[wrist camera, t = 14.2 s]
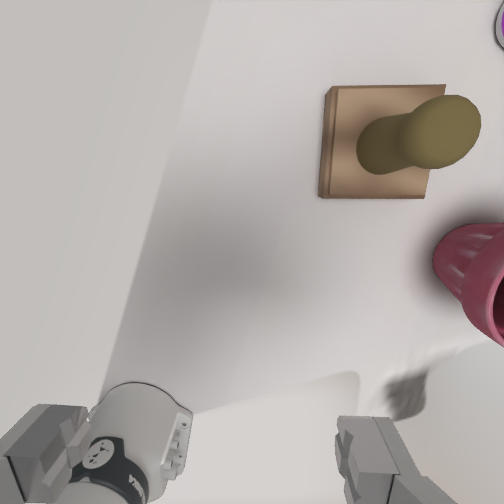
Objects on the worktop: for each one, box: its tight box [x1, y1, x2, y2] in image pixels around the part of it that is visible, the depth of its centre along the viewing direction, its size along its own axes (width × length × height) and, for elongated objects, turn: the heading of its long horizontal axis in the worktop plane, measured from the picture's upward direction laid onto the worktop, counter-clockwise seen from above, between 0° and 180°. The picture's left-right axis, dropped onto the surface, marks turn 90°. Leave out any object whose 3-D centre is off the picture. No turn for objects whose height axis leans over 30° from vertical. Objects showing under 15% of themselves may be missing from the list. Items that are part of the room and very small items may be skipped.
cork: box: [356, 95, 481, 175], centre depth 23 cm, size 6×6×11 cm
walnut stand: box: [318, 84, 446, 199], centre depth 30 cm, size 12×12×4 cm
